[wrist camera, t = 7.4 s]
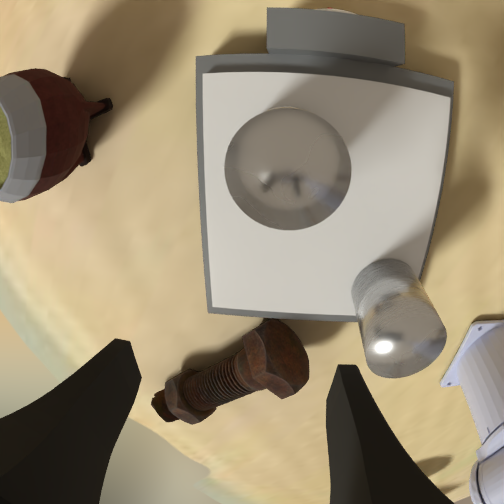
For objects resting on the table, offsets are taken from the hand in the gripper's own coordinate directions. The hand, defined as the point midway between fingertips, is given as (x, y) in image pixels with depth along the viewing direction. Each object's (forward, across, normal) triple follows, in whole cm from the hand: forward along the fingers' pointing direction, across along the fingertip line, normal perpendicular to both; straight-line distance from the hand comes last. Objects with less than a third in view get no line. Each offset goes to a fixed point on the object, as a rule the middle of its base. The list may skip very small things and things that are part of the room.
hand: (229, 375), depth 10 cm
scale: (+10, -3, -5) cm, 12 cm away
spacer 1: (+8, -1, -6) cm, 10 cm away
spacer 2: (+8, -8, +1) cm, 11 cm away
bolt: (+11, +3, +12) cm, 16 cm away
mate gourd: (+11, +13, -8) cm, 18 cm away
